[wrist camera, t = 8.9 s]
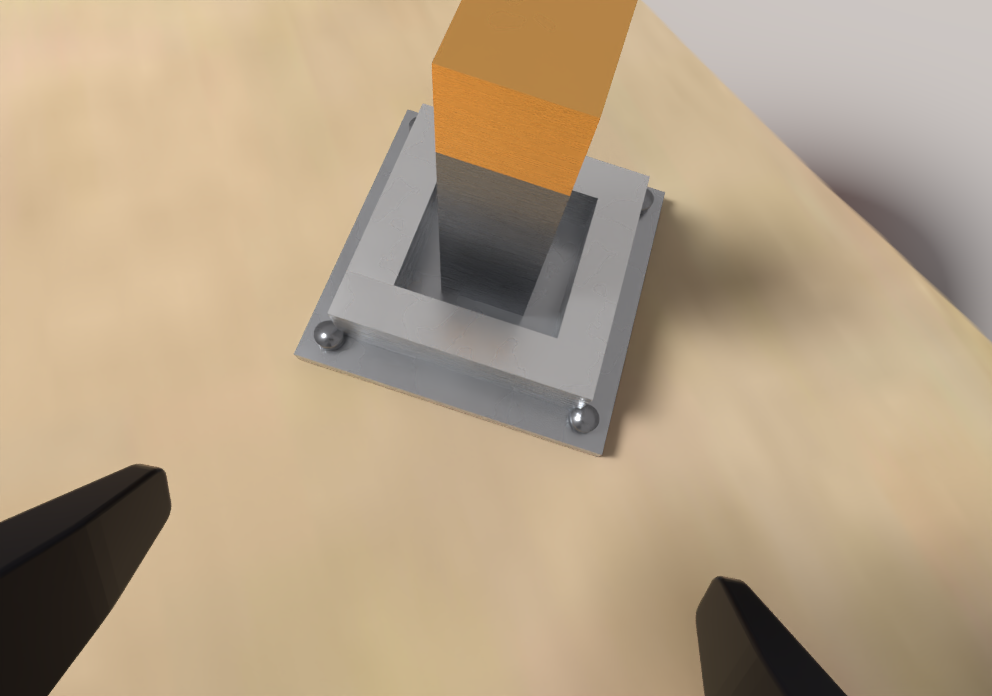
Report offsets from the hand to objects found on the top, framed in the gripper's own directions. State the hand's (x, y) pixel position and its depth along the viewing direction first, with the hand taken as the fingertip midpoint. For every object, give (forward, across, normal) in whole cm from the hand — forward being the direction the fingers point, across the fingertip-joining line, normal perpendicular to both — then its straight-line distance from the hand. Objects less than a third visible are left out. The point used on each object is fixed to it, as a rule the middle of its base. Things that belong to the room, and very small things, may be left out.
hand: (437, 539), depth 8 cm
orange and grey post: (+17, 0, +1) cm, 17 cm away
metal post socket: (+18, 0, +2) cm, 18 cm away
